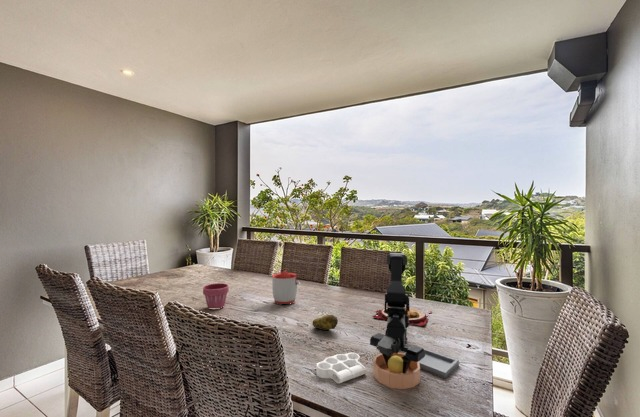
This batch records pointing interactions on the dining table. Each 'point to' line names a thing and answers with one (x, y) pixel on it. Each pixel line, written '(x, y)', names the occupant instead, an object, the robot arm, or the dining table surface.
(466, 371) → the dining table surface
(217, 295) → the plant pot
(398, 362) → the ball
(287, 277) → the citrus juicer
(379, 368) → the bowl
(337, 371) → the white brass knuckles
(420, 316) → the plate with food
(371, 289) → the dining table surface
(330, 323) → the potato
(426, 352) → the tray
